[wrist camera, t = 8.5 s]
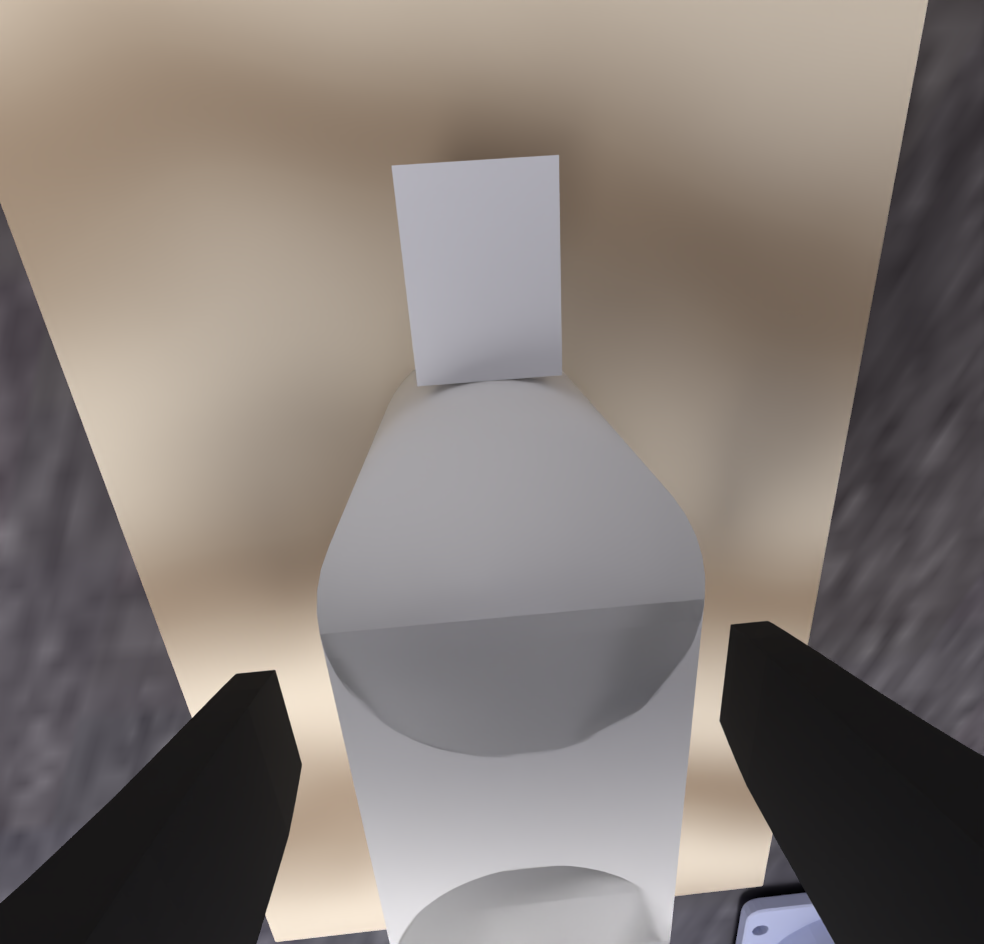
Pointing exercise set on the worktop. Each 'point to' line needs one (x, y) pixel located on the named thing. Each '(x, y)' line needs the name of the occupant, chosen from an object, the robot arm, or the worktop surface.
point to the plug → (509, 604)
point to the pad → (385, 317)
